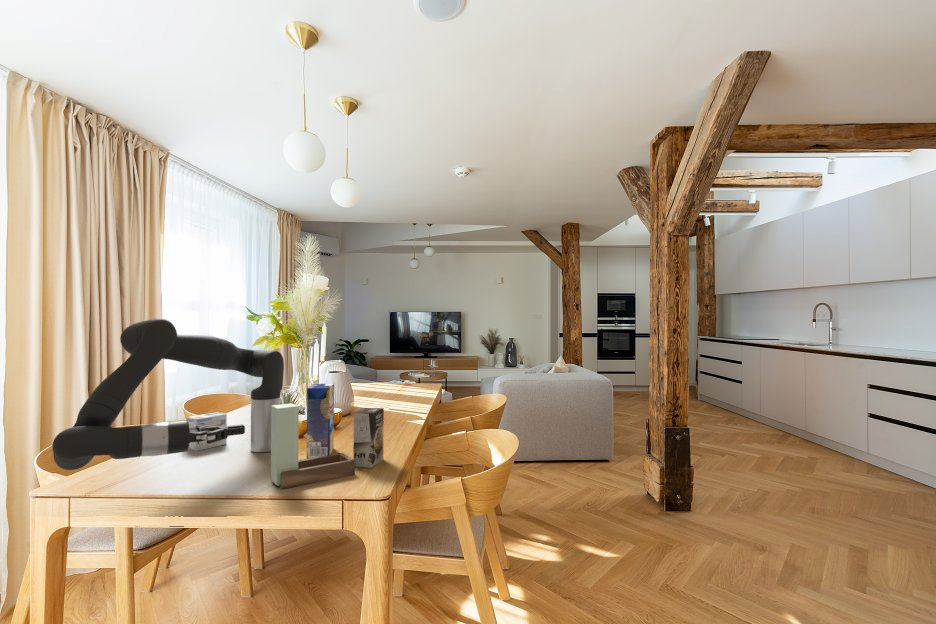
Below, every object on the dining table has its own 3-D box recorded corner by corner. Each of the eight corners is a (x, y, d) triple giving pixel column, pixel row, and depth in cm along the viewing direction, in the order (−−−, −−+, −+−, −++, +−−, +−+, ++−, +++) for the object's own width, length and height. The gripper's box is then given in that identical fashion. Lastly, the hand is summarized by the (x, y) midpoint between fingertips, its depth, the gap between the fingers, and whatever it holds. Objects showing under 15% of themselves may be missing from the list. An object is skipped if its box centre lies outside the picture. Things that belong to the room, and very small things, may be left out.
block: (270, 479, 131) (271, 405, 131) (291, 475, 135) (292, 403, 135) (276, 485, 127) (277, 408, 127) (298, 481, 130) (298, 406, 130)
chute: (272, 479, 133) (272, 465, 133) (341, 466, 145) (341, 452, 145) (282, 489, 126) (282, 473, 126) (354, 474, 138) (354, 460, 138)
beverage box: (333, 448, 165) (333, 383, 165) (329, 457, 154) (329, 388, 154) (312, 449, 164) (313, 383, 164) (306, 458, 153) (306, 388, 153)
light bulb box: (217, 441, 174) (217, 411, 174) (227, 444, 170) (227, 413, 170) (186, 448, 165) (186, 416, 166) (195, 451, 161) (196, 418, 162)
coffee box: (372, 468, 144) (373, 413, 144) (352, 466, 145) (352, 412, 145) (384, 459, 153) (384, 407, 153) (365, 458, 154) (365, 406, 154)
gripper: (168, 426, 109) (250, 418, 119) (162, 417, 120) (238, 410, 130) (167, 460, 109) (250, 449, 119) (161, 448, 119) (238, 438, 130)
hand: (244, 429), depth 125 cm, fingers closed
